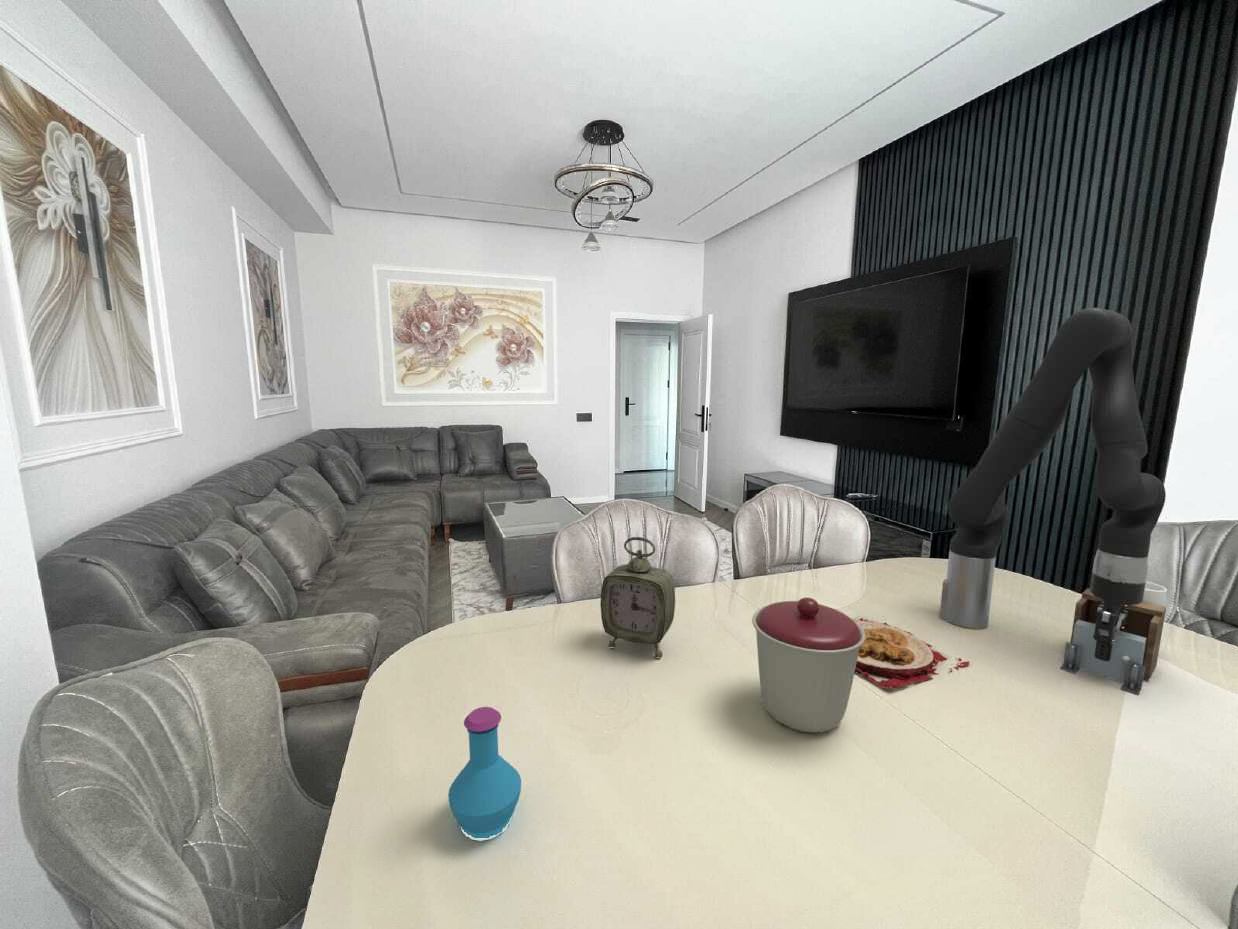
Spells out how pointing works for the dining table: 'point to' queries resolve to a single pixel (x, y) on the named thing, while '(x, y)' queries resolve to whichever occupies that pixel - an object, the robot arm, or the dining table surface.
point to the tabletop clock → (638, 601)
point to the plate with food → (895, 656)
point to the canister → (806, 662)
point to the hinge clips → (1132, 672)
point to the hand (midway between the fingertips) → (1106, 653)
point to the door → (1122, 651)
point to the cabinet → (1130, 625)
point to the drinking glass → (1155, 594)
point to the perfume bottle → (484, 780)
